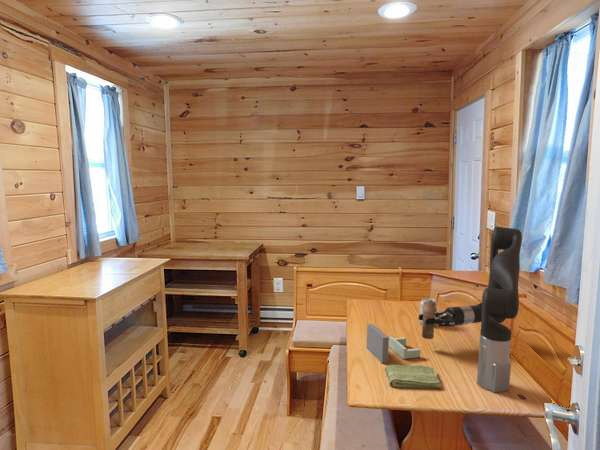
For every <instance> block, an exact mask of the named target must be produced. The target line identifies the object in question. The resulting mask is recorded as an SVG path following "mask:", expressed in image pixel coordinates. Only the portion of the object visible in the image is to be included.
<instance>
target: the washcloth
mask: <svg viewBox="0 0 600 450" xmlns="http://www.w3.org/2000/svg"><path fill="white" fill-rule="evenodd" d="M384 371H385V373H386V376H387V378H388V385H389V387H392V388H401V389H408V388H409V389H442V383H441V382H440V380H441V379H439V376H438V374H437V372H435V368H434V367H431V366H427V365H426V366H425V365H418V364H417V365H409V364H408V365H405V364H403V365H402V364H388V365H385V366H384Z"/></svg>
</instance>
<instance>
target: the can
mask: <svg viewBox="0 0 600 450" xmlns="http://www.w3.org/2000/svg"><path fill="white" fill-rule="evenodd" d="M424 302H433V303H435V309H436V310H437V309H438V306H437V305H438V303H437V301H436V299H435V298H430V297H424V298H421V301H420V302H419V315H420V314H423V305H424ZM418 321H419V324H421V326H423V320H419V319H418ZM434 326H435V324H434Z"/></svg>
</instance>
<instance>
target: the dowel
mask: <svg viewBox="0 0 600 450" xmlns="http://www.w3.org/2000/svg"><path fill="white" fill-rule="evenodd" d="M434 317H435V303H433V302H424V305H423V325H421V326H422V328H421V329H422V331H421V337H422V338H423V339H426V340H432V339H434V334H435V332H434V331H435V325H434V324H430V325H426V324H425V320H426V319H430V318H434Z"/></svg>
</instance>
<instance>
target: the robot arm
mask: <svg viewBox="0 0 600 450" xmlns="http://www.w3.org/2000/svg"><path fill="white" fill-rule="evenodd" d="M522 240H523V235H522V231H520V229H518V228H512V227H503V226H495V227H493V230H492V233H491V237H490V249H489V250H490V251H489V277H488V284H487V287H486V288H484V290H483V291H482V297H481V302H480V303H478V304H475V305H474V304H473V305H461V306H460V305H459V306H449V307H446V308H445V310H440V311H437V310H436V309H435V317H434V318H430V319H426V320H425V324H426V325H430V324H435V325H437V326H438V327H456V326H466V325H470V324H479V323H480V336H479V337H480V338H479V346H478V347H479V348H478V361H477V373H476V374H477V376H476V384H477V385H478V386H479V387H481V388H483V389H484V390H487V391H491V392H492V393H500V392H507V391H509V390H510V383H511V381H510V380H511V370H512V363H511V362H510V353H511V341H512V330H511V329H510V328H509V327H507V326H505V325H504V324H502V323H503V322H504V321H506V319H508V320H509V319H510V320H512V319H515V318H516V317H517V315H518V313H519V308H520V300H519V299H520V297H519V279H520V266H521V264H520V259H521V258H520V256H521V247H522V242H523V241H522ZM499 250H500V252H499ZM419 320H423V314H420V313H419V314H418V321H419ZM435 325H434V326H435Z"/></svg>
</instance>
